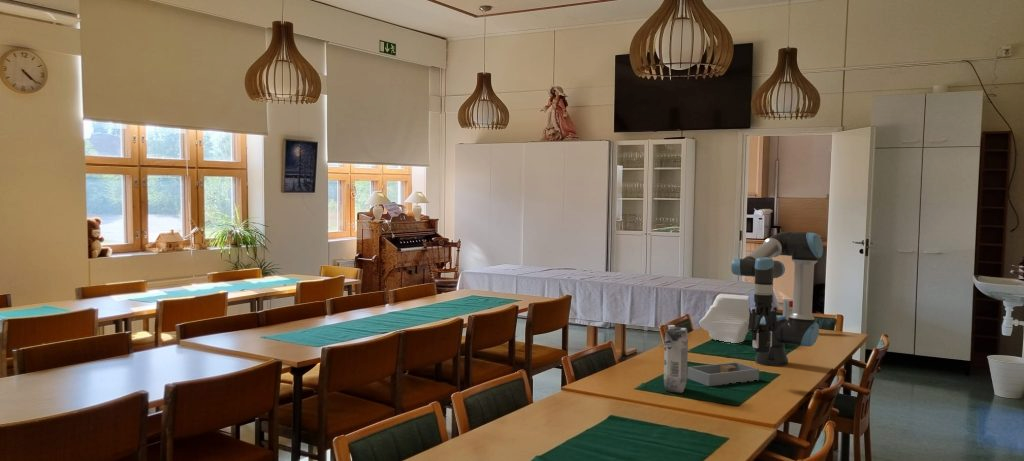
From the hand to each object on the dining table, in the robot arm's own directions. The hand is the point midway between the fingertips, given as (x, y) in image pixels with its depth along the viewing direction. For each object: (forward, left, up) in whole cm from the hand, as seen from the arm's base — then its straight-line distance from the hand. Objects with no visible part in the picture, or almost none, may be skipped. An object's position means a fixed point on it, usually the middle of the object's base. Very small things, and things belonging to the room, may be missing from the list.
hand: (762, 346), depth 311 cm
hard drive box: (-111, -88, -17) cm, 143 cm away
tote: (+9, -14, -17) cm, 23 cm away
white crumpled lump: (-55, -85, -17) cm, 103 cm away
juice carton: (+40, -7, -17) cm, 44 cm away
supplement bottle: (0, 0, -2) cm, 2 cm away
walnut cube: (+6, -14, -16) cm, 22 cm away
